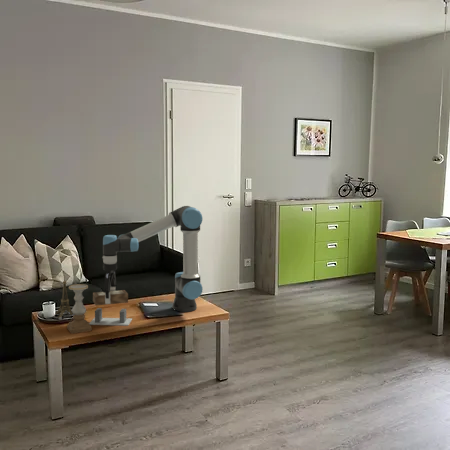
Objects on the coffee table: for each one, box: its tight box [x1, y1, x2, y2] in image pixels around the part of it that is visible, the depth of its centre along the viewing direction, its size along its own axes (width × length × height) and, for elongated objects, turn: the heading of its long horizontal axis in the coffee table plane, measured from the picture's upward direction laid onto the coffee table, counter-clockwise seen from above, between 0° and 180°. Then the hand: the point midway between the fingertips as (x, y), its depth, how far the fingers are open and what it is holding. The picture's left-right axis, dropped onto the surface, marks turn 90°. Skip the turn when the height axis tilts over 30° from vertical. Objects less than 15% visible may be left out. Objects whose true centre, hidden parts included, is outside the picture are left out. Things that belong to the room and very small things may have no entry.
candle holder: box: [66, 283, 93, 335], centre depth 274 cm, size 11×11×24 cm
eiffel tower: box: [55, 276, 73, 318], centre depth 296 cm, size 11×11×25 cm
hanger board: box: [88, 307, 133, 327], centre depth 288 cm, size 22×11×7 cm, turn 89°
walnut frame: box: [92, 289, 129, 306], centre depth 286 cm, size 18×9×5 cm, turn 114°
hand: (110, 300), depth 287 cm, fingers closed on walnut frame, 11 cm apart
